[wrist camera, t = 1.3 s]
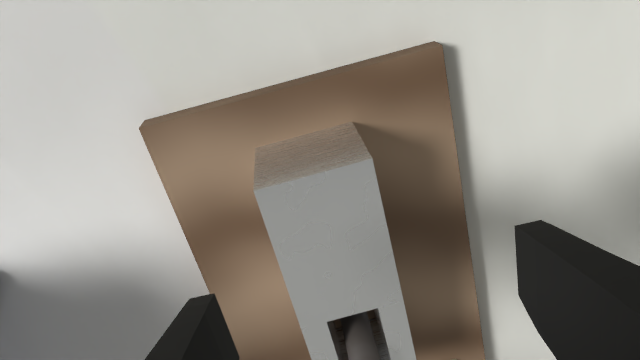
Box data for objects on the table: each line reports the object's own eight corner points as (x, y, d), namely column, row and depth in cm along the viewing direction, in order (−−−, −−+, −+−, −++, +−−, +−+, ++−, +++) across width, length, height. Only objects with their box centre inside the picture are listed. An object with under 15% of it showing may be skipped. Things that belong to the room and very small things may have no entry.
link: (255, 148, 19) (253, 191, 16) (352, 121, 19) (372, 158, 16) (321, 349, 24) (331, 417, 20) (399, 328, 24) (423, 393, 20)
